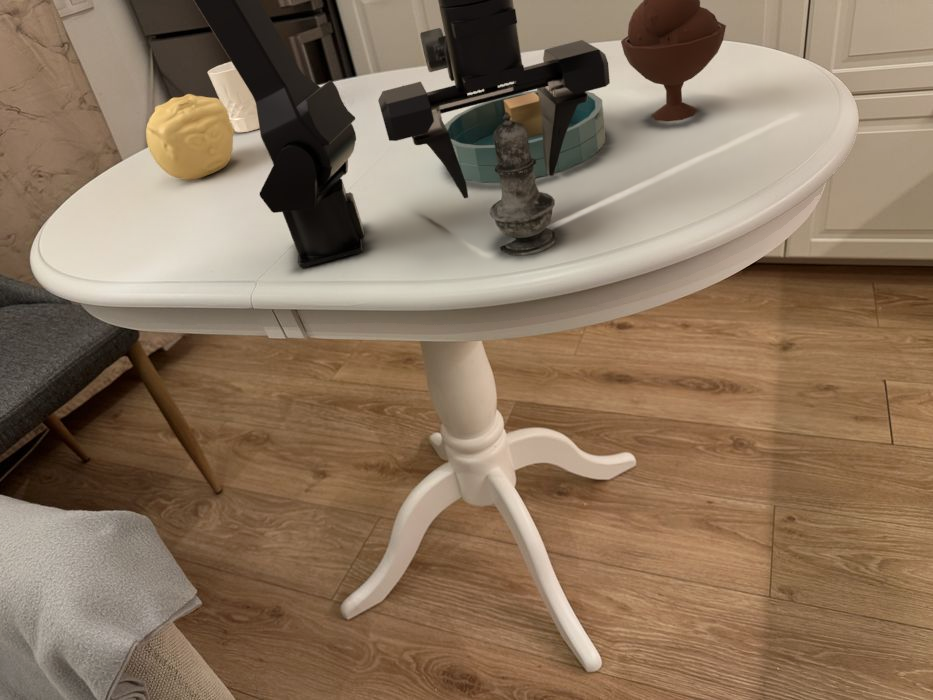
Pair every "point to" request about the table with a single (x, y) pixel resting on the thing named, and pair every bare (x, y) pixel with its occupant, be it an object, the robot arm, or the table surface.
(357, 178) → the table surface
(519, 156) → the salt shaker
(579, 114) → the bowl
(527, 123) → the block
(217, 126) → the sculpture
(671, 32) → the ice cream bowl
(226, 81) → the white cup
